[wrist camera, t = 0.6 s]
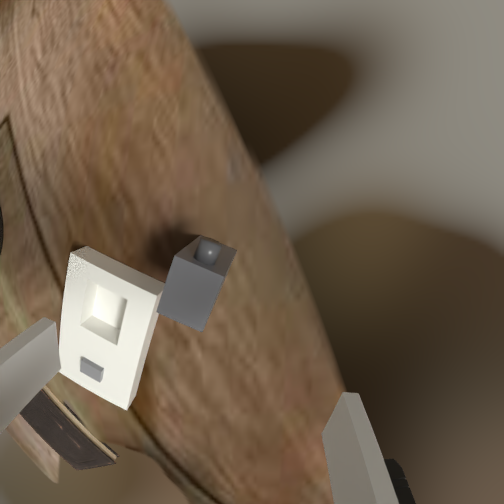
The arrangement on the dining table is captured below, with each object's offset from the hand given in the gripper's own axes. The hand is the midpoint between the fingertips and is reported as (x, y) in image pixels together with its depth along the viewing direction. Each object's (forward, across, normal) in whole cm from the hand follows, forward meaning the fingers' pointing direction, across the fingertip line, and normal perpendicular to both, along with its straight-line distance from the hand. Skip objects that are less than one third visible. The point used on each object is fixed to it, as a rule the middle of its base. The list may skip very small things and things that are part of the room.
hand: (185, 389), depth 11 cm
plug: (+20, -2, 0) cm, 20 cm away
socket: (+20, -14, -12) cm, 27 cm away
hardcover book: (+21, -28, -38) cm, 52 cm away
